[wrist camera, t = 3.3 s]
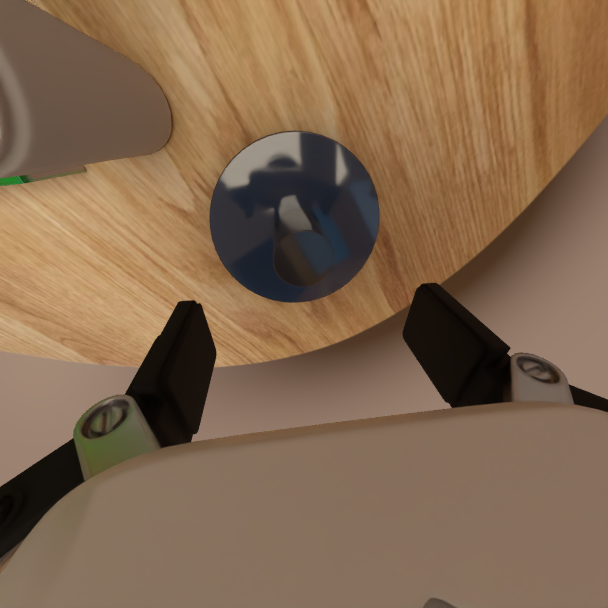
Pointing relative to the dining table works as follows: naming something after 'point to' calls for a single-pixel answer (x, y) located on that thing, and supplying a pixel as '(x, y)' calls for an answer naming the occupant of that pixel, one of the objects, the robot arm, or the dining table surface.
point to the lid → (294, 216)
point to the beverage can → (70, 97)
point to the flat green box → (41, 176)
